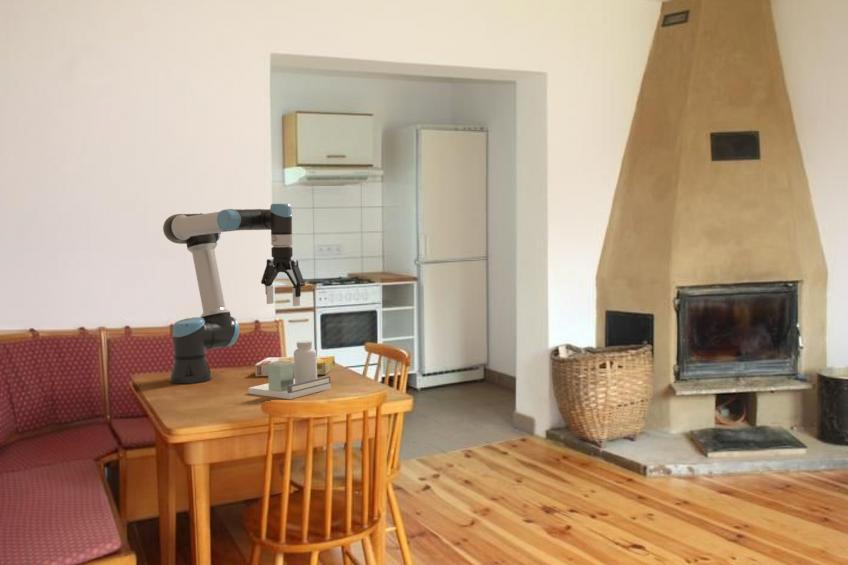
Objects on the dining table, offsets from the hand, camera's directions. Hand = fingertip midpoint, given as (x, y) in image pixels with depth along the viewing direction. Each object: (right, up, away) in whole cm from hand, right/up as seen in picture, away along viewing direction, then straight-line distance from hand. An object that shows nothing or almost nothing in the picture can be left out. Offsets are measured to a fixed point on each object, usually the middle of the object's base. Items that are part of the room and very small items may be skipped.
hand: (283, 304), depth 300 cm
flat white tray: (+4, -30, -11) cm, 32 cm away
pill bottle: (+10, -28, -9) cm, 31 cm away
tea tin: (+2, -28, -18) cm, 33 cm away
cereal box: (0, -28, +28) cm, 40 cm away
